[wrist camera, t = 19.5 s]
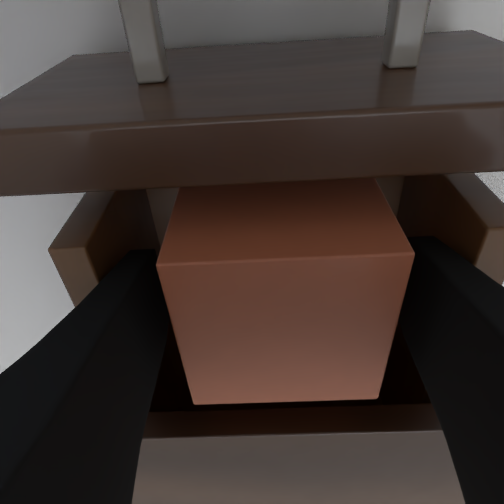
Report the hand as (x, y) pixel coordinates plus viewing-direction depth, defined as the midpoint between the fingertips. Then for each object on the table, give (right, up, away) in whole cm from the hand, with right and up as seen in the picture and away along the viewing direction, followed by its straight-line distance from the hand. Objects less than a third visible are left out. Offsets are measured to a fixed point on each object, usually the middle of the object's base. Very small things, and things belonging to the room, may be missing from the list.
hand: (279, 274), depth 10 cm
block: (0, +2, +3) cm, 3 cm away
